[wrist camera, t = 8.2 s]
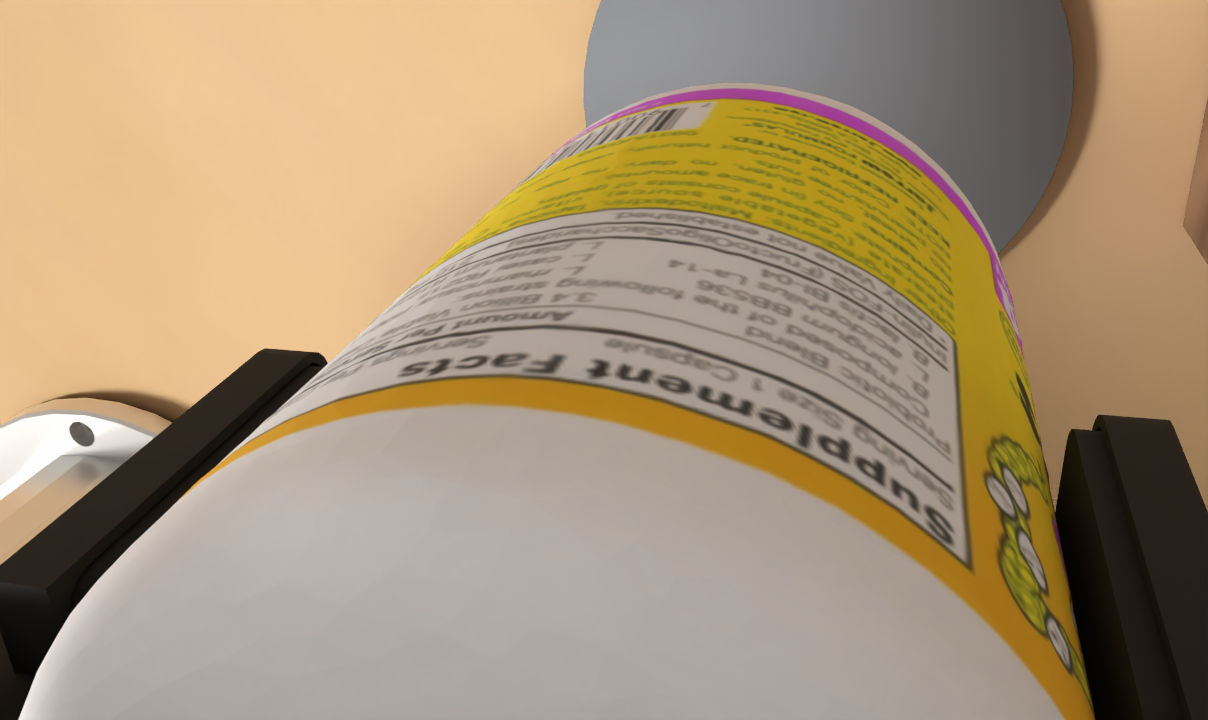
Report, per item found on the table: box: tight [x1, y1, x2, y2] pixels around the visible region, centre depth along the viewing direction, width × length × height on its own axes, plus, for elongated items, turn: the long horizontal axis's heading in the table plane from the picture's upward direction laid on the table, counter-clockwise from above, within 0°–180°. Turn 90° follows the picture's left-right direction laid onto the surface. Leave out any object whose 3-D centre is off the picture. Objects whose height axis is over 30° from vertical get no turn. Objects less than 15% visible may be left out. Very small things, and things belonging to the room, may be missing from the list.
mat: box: [584, 0, 1074, 254], centre depth 26 cm, size 11×11×1 cm
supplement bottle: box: [18, 83, 1096, 720], centre depth 9 cm, size 7×7×13 cm
